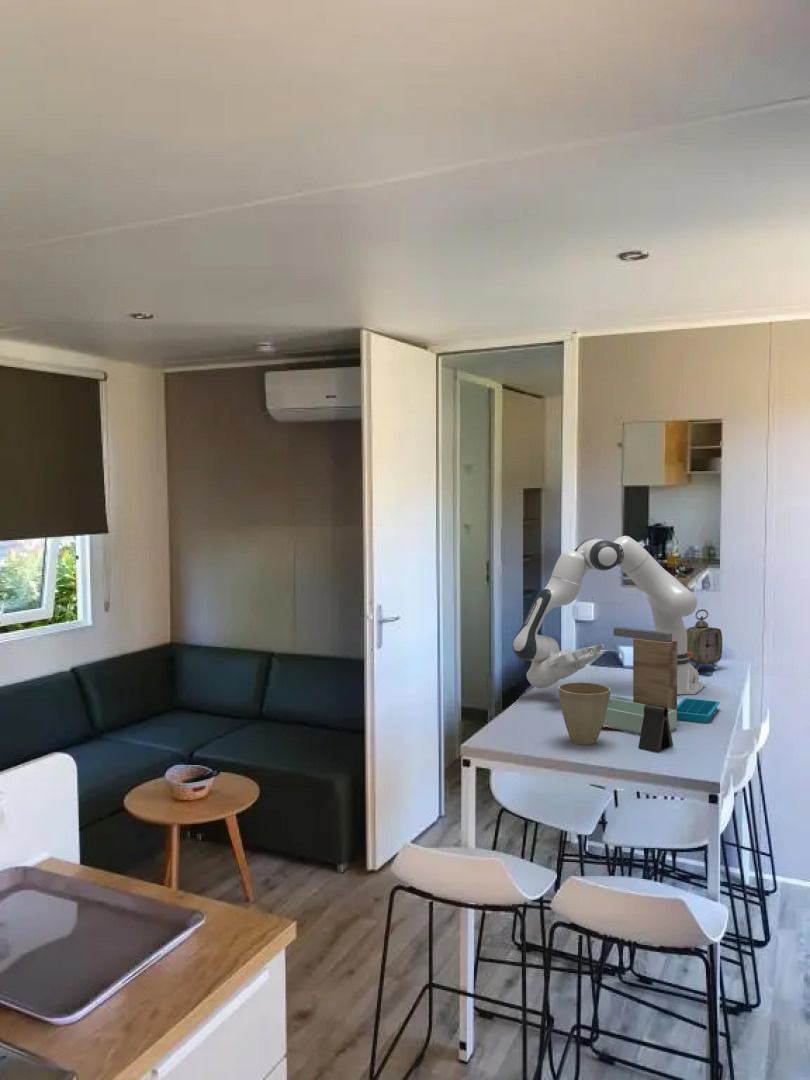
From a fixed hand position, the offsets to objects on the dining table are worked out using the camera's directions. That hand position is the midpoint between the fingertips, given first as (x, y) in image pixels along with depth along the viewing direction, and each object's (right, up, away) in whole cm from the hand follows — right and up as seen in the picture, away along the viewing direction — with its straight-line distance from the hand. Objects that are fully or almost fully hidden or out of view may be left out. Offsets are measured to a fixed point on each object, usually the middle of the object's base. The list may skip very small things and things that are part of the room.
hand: (594, 647), depth 280 cm
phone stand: (+8, -23, -42) cm, 49 cm away
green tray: (+5, -22, -20) cm, 30 cm away
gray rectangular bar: (+12, +5, -13) cm, 18 cm away
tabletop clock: (+57, -17, +59) cm, 84 cm away
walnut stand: (+16, -21, -15) cm, 30 cm away
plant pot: (-11, -23, -36) cm, 44 cm away
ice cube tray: (+31, -21, -8) cm, 39 cm away
